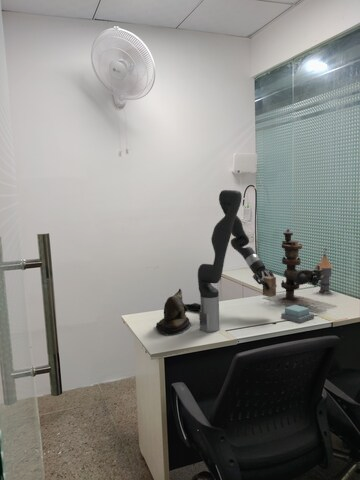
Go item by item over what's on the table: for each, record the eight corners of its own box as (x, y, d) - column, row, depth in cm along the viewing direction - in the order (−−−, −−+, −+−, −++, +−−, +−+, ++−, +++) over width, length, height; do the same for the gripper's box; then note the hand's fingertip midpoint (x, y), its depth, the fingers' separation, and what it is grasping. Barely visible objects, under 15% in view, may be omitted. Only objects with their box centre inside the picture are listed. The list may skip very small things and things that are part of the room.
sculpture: (173, 318, 212) (176, 284, 208) (199, 330, 202) (203, 295, 197) (144, 331, 195) (147, 294, 190) (170, 345, 184) (174, 306, 179)
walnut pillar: (269, 296, 205) (269, 278, 204) (262, 295, 209) (262, 277, 208) (276, 295, 208) (275, 277, 207) (268, 293, 212) (268, 275, 211)
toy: (169, 311, 233) (210, 315, 215) (168, 302, 233) (209, 305, 215) (177, 308, 240) (218, 312, 221) (176, 299, 239) (217, 302, 221)
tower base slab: (299, 324, 198) (299, 318, 197) (281, 318, 207) (281, 313, 207) (314, 319, 204) (314, 314, 204) (295, 314, 214) (295, 309, 214)
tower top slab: (298, 317, 200) (298, 311, 199) (284, 313, 207) (284, 308, 207) (309, 313, 205) (309, 308, 205) (295, 310, 212) (295, 304, 212)
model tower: (312, 291, 258) (312, 247, 255) (326, 289, 261) (326, 246, 258) (321, 295, 249) (322, 249, 246) (336, 293, 252) (336, 248, 249)
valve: (339, 307, 223) (341, 230, 219) (317, 313, 212) (318, 232, 208) (283, 293, 258) (283, 227, 254) (262, 298, 247) (262, 229, 243)
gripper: (249, 261, 208) (266, 286, 200) (267, 258, 216) (284, 282, 208) (242, 269, 213) (259, 294, 205) (260, 266, 221) (276, 290, 213)
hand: (272, 288), depth 206 cm, fingers closed on walnut pillar, 5 cm apart
